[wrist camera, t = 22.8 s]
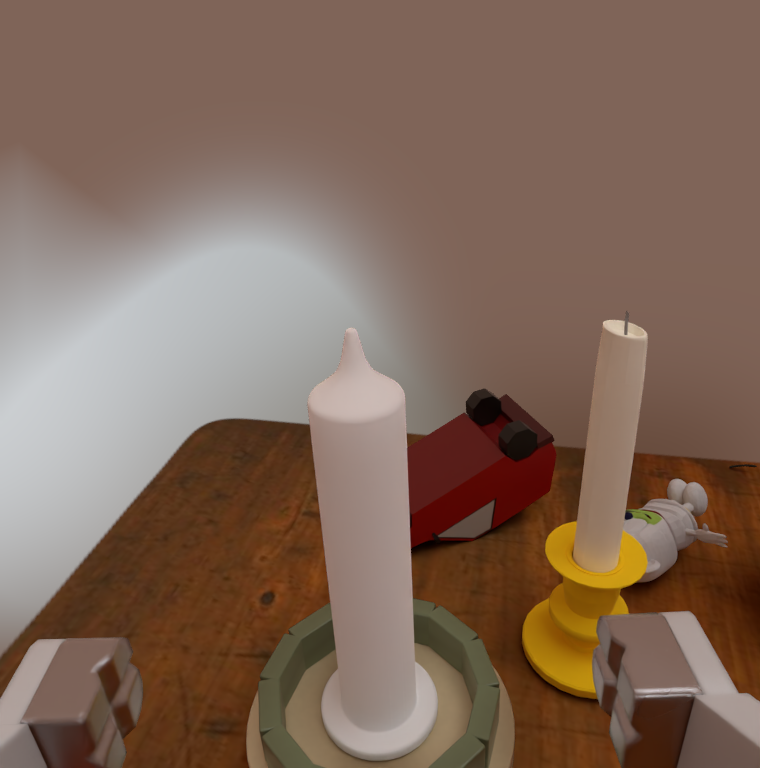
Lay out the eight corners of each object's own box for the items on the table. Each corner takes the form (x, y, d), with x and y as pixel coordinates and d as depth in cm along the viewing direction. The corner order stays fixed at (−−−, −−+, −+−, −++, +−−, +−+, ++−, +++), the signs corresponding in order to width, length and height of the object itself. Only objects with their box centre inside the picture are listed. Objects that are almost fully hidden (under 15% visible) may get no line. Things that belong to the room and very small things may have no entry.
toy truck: (351, 543, 32) (393, 603, 34) (549, 417, 33) (575, 486, 35) (320, 478, 37) (359, 535, 39) (493, 370, 38) (520, 434, 40)
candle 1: (297, 718, 25) (235, 339, 18) (370, 641, 28) (342, 291, 21) (391, 787, 22) (362, 380, 15) (460, 694, 25) (463, 318, 18)
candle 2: (631, 604, 31) (685, 283, 24) (662, 704, 26) (742, 343, 19) (516, 599, 31) (536, 285, 24) (527, 696, 27) (555, 344, 20)
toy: (824, 418, 36) (662, 546, 28) (836, 473, 36) (679, 613, 29) (708, 416, 41) (547, 522, 34) (719, 464, 42) (562, 579, 34)
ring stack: (467, 618, 31) (468, 564, 29) (557, 846, 22) (565, 786, 20) (249, 658, 29) (238, 604, 28) (253, 919, 21) (237, 861, 19)
